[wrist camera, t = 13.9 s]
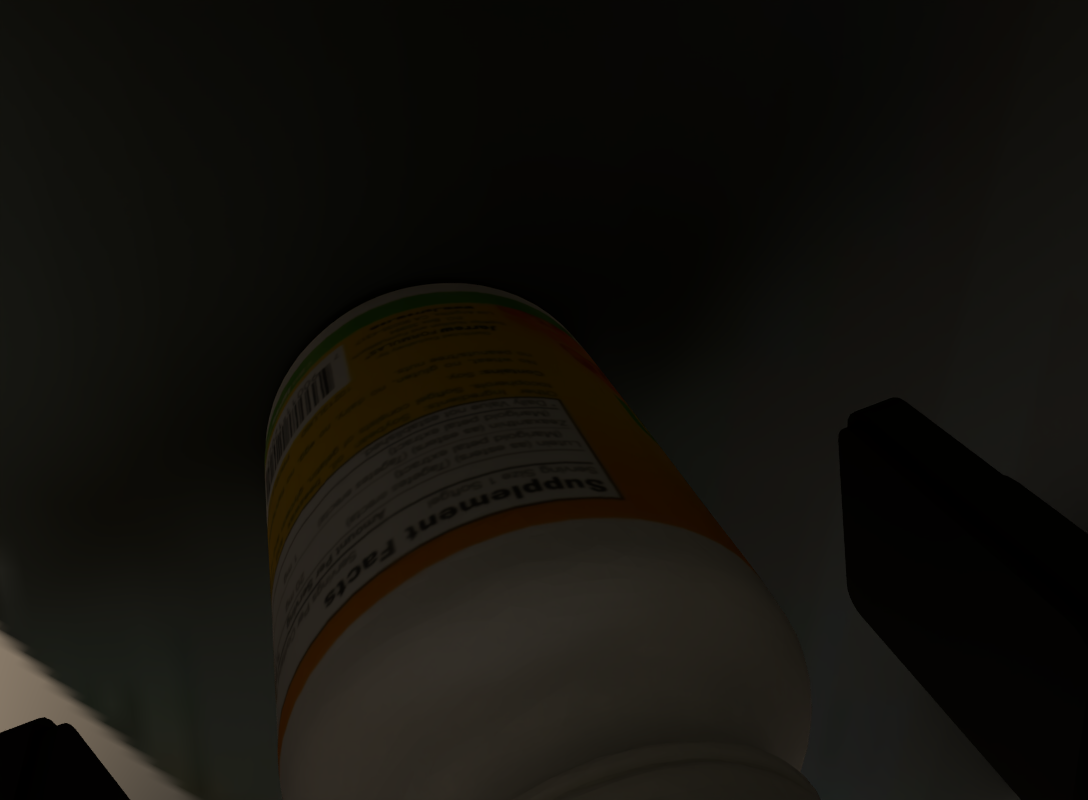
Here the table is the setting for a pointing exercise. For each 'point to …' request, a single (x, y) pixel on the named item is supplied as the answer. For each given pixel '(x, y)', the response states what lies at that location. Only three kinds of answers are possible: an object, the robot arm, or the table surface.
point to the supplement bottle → (506, 578)
